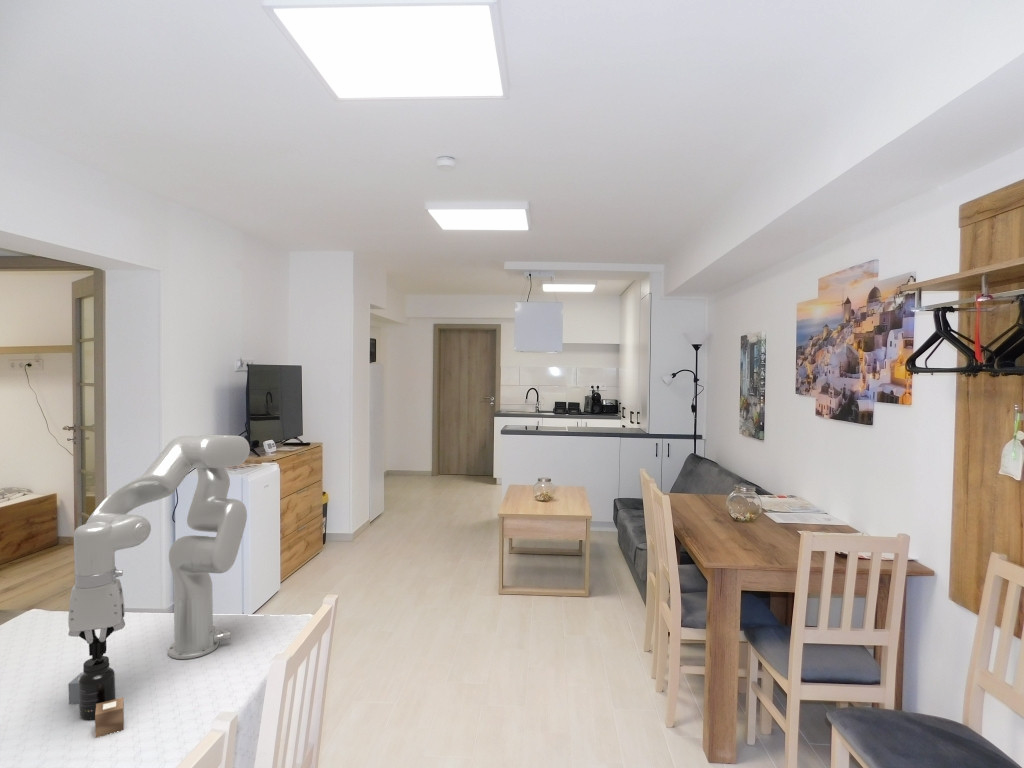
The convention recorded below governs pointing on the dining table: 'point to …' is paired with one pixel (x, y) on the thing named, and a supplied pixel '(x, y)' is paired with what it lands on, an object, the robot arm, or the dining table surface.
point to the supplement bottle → (95, 686)
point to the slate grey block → (74, 690)
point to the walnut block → (109, 717)
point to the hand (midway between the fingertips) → (98, 657)
